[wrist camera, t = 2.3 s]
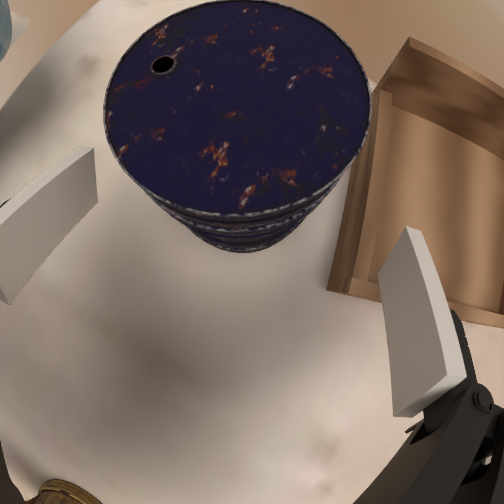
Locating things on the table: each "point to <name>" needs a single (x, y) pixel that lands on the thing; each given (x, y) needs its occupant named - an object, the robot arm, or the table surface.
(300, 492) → the table surface
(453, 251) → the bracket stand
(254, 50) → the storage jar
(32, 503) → the wooden mug
